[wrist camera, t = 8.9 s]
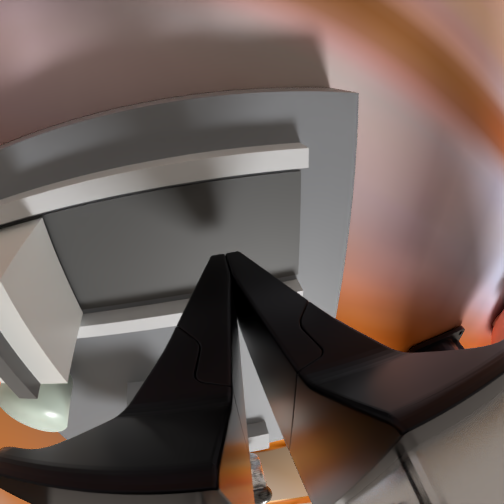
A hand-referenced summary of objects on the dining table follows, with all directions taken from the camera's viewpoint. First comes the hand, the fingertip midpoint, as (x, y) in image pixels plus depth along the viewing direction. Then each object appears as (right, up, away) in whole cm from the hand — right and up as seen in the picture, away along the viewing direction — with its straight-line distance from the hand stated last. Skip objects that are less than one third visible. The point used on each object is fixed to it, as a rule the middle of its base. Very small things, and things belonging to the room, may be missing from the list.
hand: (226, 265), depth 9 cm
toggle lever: (+1, -13, +8) cm, 15 cm away
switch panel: (-5, -5, +6) cm, 9 cm away
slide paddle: (-7, 0, 0) cm, 7 cm away
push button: (-9, -5, +2) cm, 11 cm away
